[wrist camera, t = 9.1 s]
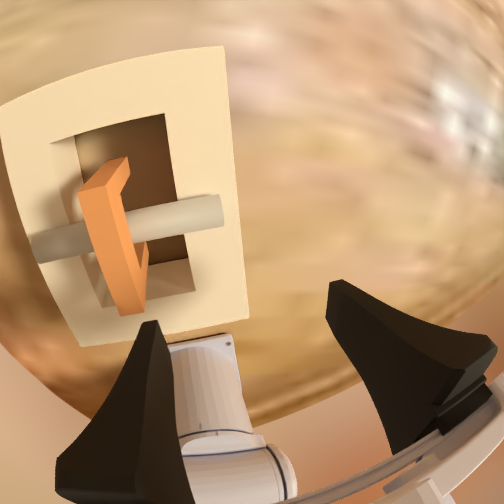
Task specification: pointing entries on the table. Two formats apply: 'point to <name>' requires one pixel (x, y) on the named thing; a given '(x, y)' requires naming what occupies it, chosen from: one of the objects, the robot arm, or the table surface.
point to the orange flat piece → (115, 236)
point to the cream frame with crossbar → (139, 220)
